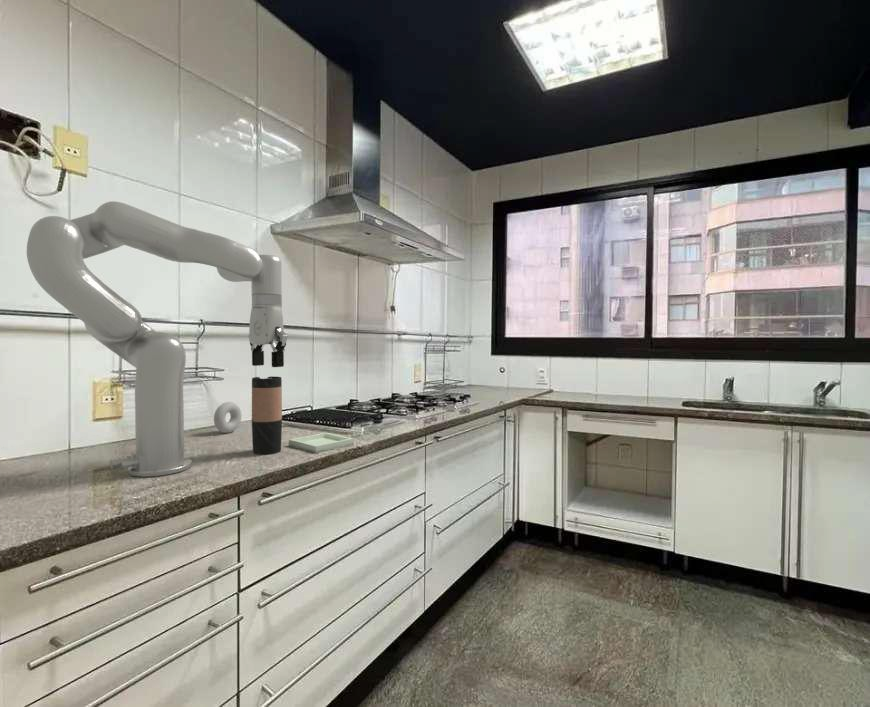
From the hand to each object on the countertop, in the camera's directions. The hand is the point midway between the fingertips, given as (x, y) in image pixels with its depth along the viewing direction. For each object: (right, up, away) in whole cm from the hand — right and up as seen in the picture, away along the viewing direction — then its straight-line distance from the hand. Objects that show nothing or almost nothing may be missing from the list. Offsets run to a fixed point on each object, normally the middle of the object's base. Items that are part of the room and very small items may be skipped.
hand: (267, 366), depth 121 cm
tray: (+12, -23, +8) cm, 27 cm away
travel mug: (0, -23, 0) cm, 23 cm away
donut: (-22, -22, +25) cm, 40 cm away
